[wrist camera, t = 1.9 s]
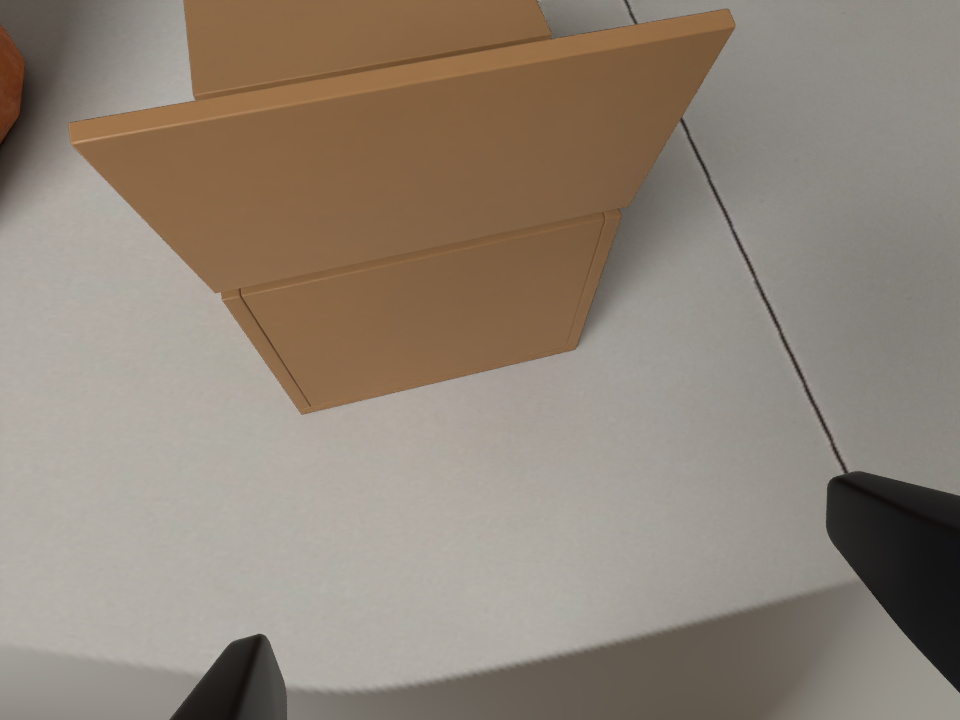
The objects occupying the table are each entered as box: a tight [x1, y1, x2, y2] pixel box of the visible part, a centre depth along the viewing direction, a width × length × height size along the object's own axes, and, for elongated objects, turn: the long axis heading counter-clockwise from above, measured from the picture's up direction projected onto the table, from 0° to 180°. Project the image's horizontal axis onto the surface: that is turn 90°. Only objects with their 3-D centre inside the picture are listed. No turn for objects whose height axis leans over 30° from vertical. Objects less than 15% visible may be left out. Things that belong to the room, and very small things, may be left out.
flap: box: [68, 9, 735, 293], centre depth 13 cm, size 6×11×1 cm
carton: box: [183, 0, 621, 414], centre depth 23 cm, size 13×11×9 cm
